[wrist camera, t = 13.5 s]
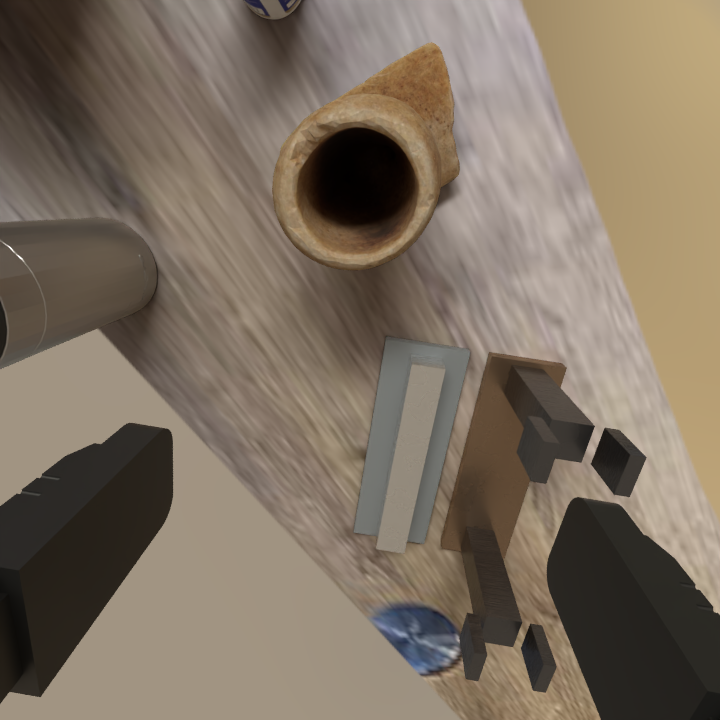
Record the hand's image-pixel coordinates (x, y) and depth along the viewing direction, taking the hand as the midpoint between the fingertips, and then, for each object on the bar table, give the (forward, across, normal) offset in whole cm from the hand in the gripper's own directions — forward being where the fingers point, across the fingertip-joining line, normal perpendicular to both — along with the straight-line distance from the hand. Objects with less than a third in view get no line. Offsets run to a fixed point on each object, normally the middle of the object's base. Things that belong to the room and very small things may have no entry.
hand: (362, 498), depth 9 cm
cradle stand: (+33, -15, +18) cm, 40 cm away
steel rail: (+32, -5, +18) cm, 37 cm away
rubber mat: (+33, -5, +18) cm, 38 cm away
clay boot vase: (+33, +2, -8) cm, 34 cm away
